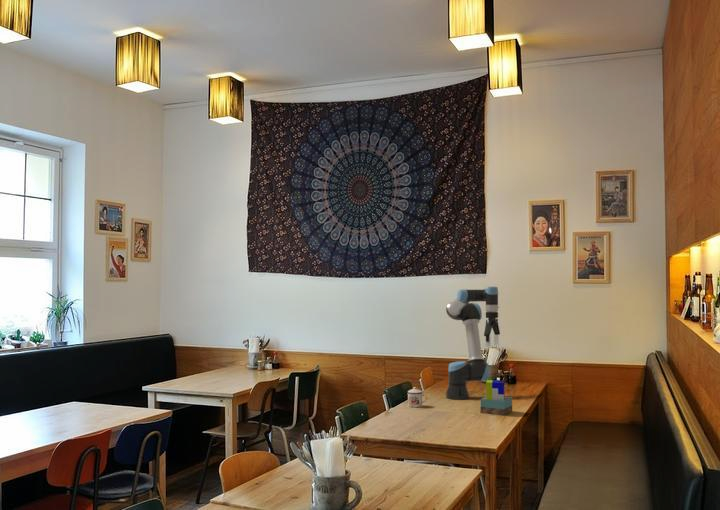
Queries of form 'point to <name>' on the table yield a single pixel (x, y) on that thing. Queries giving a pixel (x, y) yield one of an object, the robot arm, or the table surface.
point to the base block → (496, 411)
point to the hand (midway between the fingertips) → (492, 346)
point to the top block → (497, 403)
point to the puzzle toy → (495, 390)
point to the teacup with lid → (415, 397)
